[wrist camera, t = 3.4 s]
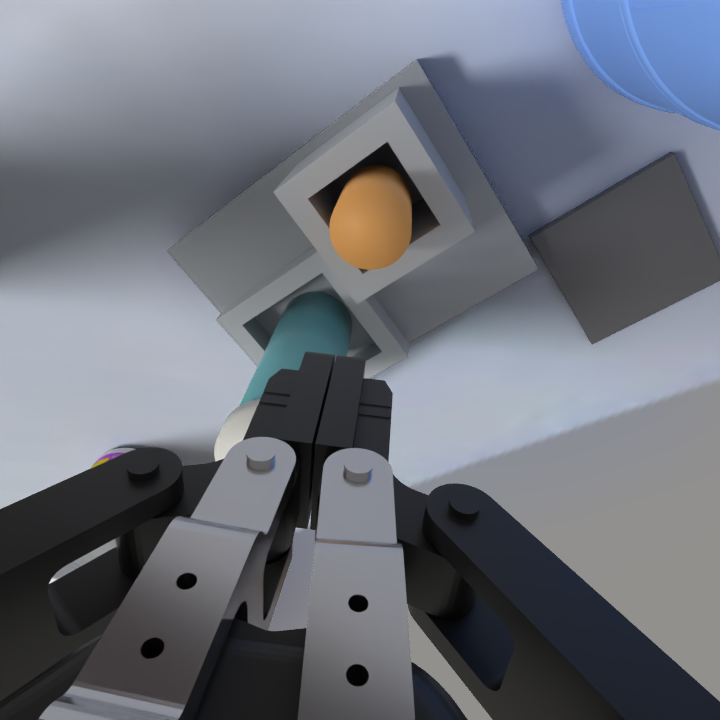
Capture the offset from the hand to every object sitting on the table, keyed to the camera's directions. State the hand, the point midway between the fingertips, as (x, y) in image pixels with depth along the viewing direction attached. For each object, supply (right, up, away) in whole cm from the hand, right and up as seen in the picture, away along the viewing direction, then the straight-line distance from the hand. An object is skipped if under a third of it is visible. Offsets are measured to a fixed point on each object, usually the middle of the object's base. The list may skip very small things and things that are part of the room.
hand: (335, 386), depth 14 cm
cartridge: (-2, +3, +25) cm, 25 cm away
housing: (0, +8, +24) cm, 25 cm away
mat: (+18, +7, +22) cm, 30 cm away
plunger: (+1, +9, +15) cm, 18 cm away
